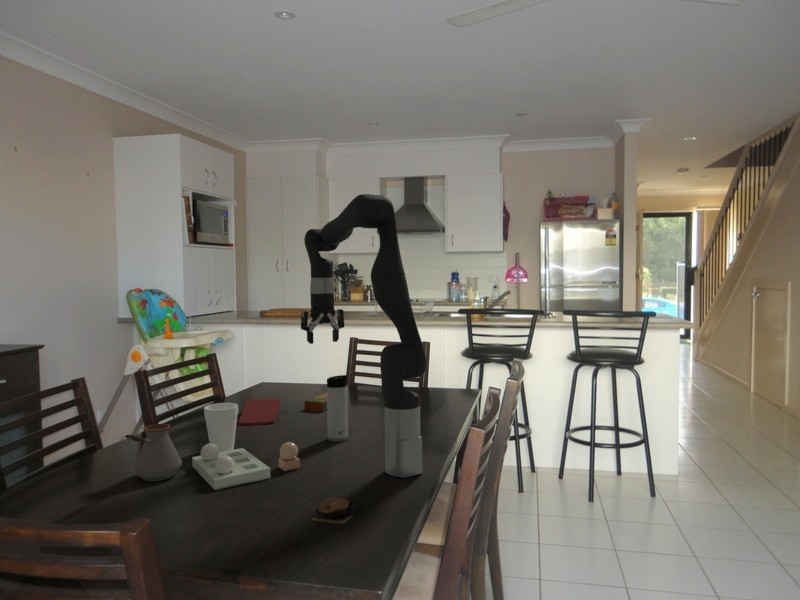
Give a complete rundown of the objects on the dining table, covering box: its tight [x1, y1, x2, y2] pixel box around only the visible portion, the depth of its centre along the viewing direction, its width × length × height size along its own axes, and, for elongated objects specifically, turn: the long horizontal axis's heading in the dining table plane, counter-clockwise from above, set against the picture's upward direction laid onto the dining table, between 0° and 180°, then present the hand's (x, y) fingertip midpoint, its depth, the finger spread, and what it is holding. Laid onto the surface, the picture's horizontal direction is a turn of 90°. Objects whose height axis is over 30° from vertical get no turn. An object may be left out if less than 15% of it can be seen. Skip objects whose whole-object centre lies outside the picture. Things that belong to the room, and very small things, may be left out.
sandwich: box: [311, 496, 359, 525], centre depth 127 cm, size 11×8×4 cm
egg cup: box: [278, 456, 301, 472], centre depth 156 cm, size 4×4×2 cm
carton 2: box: [237, 397, 281, 426], centre depth 213 cm, size 12×5×25 cm
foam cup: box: [203, 402, 239, 452], centre depth 172 cm, size 10×9×13 cm
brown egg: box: [279, 441, 299, 461], centre depth 156 cm, size 5×5×5 cm
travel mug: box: [326, 374, 349, 443], centre depth 182 cm, size 6×7×20 cm
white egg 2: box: [214, 455, 234, 475], centre depth 146 cm, size 5×5×5 cm
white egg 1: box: [200, 442, 220, 461], centre depth 157 cm, size 5×5×5 cm
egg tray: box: [191, 447, 271, 491], centre depth 153 cm, size 21×14×2 cm, turn 34°
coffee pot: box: [120, 423, 183, 482], centre depth 146 cm, size 21×12×15 cm, turn 177°
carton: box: [303, 392, 327, 413], centre depth 226 cm, size 8×16×4 cm, turn 156°
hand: (323, 342), depth 188 cm, fingers open, 8 cm apart
